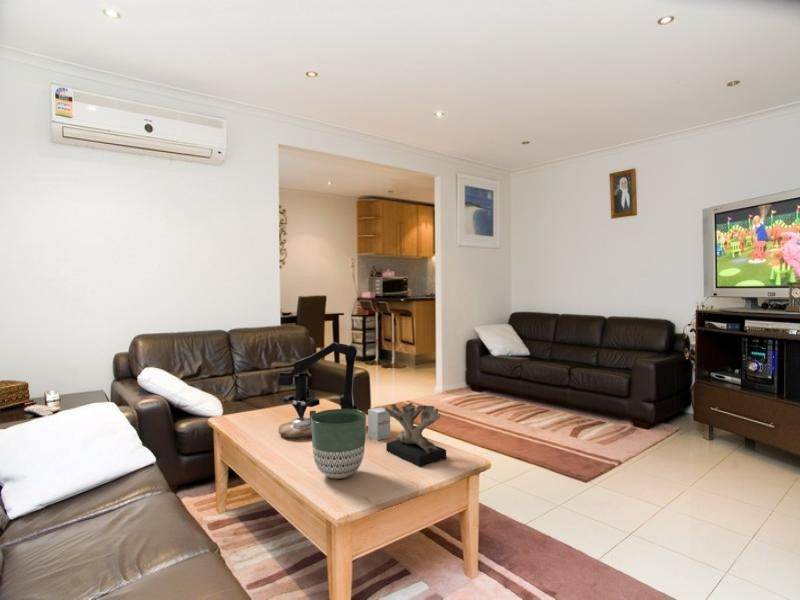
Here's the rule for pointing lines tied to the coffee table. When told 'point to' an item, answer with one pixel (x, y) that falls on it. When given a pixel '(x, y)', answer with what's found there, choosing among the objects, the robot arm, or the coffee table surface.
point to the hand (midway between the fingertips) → (301, 418)
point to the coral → (415, 436)
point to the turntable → (289, 431)
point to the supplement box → (378, 424)
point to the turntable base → (298, 437)
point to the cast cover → (301, 423)
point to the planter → (338, 441)
